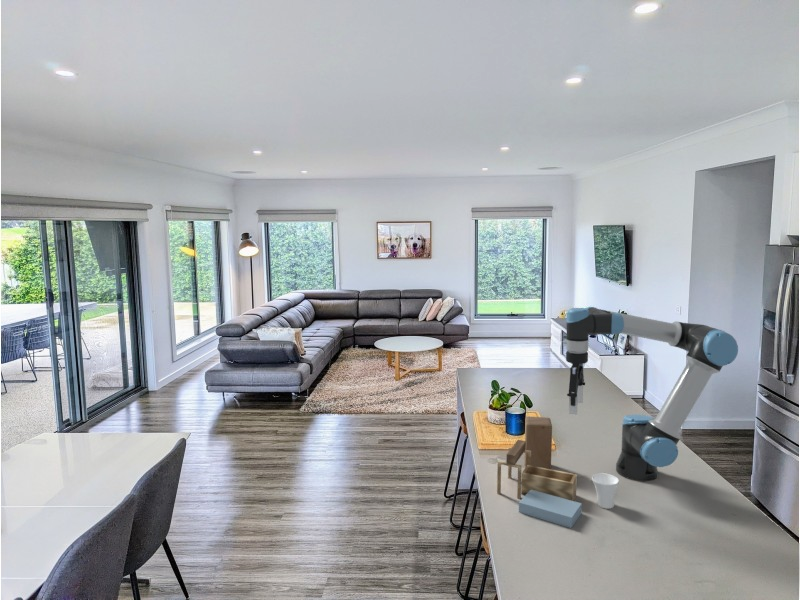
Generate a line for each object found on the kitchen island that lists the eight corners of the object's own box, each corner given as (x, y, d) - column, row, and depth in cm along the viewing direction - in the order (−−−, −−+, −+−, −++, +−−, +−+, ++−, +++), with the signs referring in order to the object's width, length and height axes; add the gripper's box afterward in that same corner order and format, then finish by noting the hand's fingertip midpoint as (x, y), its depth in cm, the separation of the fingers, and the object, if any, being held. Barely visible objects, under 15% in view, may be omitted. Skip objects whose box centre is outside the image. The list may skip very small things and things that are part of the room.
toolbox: (577, 491, 200) (578, 459, 198) (570, 509, 186) (571, 476, 185) (508, 476, 212) (509, 447, 210) (497, 493, 198) (497, 461, 197)
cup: (617, 500, 193) (618, 473, 191) (618, 513, 184) (619, 485, 183) (590, 496, 195) (591, 470, 194) (590, 509, 187) (592, 481, 185)
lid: (581, 514, 184) (581, 503, 184) (571, 529, 175) (571, 517, 175) (530, 499, 194) (530, 489, 194) (518, 513, 185) (518, 502, 185)
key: (525, 449, 207) (525, 441, 207) (514, 465, 194) (514, 455, 193) (517, 448, 208) (517, 439, 208) (506, 463, 195) (506, 454, 195)
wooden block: (551, 474, 213) (552, 425, 211) (525, 472, 215) (526, 424, 213) (549, 463, 223) (550, 416, 220) (524, 461, 225) (525, 415, 222)
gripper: (571, 343, 207) (571, 396, 210) (560, 358, 185) (559, 417, 188) (592, 344, 204) (591, 399, 207) (583, 359, 182) (581, 420, 185)
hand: (576, 408), depth 197 cm, fingers open, 13 cm apart
